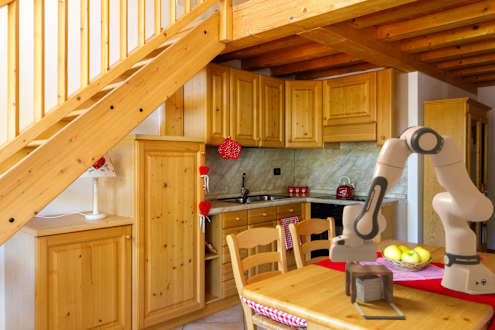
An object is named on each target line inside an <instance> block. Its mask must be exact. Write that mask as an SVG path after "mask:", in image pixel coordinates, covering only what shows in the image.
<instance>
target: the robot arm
mask: <svg viewBox="0 0 495 330" xmlns="http://www.w3.org/2000/svg"><path fill="white" fill-rule="evenodd" d="M413 154H419V155H422V156H423V155H426V156H427V155H429V156H430V159H431V161H432V165H433V168H434V172H435V176H436V179H437V182H438V184H439V185H440V186H442V187H443V188H445V190H446V191H444V192H438V193H437V194H435V195H434V197H433V199H432V204H431V206H432V208H433V210H434V212H435V213H436V214H437V215H438V216H439V218H440V220H441V223H442V226H443V229H444V235H445V251H444V253H443V254H444V256H443V262H444V271H443V276H442V280H441V283H440V284H441V286H443V288H447V289H449V290H452V291H455V292H461V293H465V294H469V295H485V294H495V273H494V272H493V271H492V270H490V269H489V268H488V267H487V266H485V265H484V264H483V263H482V262H486V261H487V257H486V256H484V255H479V254H478V253H477V234H476V233H475V232H474V230H472V229H471V228H470V226H469V224H468V222H473V223H474V222H486V221H488V220H489V219H490V218H491V217H492V215H493V213H494V205H493V202H492V200H491V199H489V198H488V197H487V196H486V195H484V194H483V193H481V191H480V190H479V188H477V187H476V185H475V184H474V183H473V181H472V179H471V178H470V175H469V173H468V170H467V168H466V164H465V161H464V158H463V154H462V151H461V149H460V147H459V144H458V142H457V141H456V139H455V138H454V137H453V136H452V135H449V134H448V135H447V134H444V135H443V134H442V135H440V134H439V133H438V132H437V131H436V130H435V129H433V128H431V127H428V126H427V127H426V126H421V125H417V126H416V125H415V126H409V127H407V128H405V129H404V130H403V131H402V133H400V134H399V136H397V137H391V138H388V139H386V140H385V141H384V144H383V145H382V147H381V149H380V151H379V154H378V157H377V159H376V163H375V167H374V169H373V170H374V171H373V175H372V178H371V179H372V180H371V183H370V186H369V191H368V193H367V196H366V199H365V202H364V204H362V203H359V202H354V203H350V204H346V205H345V206H344V207H343V213H342V226H343V230H342V234H341V235H339V236H335V237H333V238H332V243H331V245H330V248H329V259H330V261H331V262H333V263H335V262H336V263H339V262H340V263H344V262H345V263H346V265H347V264H352V263H354V264H361V263H374V262H375V263H376V262H377V261H378V254H377V249H378V244H377V242H376V241H375V240H374V238H376V237H377V236H379V234H382V233H383V232H384V231H385V230H386V228H387V225H388V221H387V219H386V217H385V216H384V214H382V213H380V212H381V207H382V206H383V202H384V199H385V198H386V196H387V195H388V193H389V192H390V191H391V190H392V189H393V188H394V187H395V186H396V185H397V184H399V182H400V180H401V177H402V176H403V173H404V170H405V166H406V164H407V163H406V162H407V160H408V158H409V157H410V156H411V155H413ZM481 261H482V262H481Z"/></svg>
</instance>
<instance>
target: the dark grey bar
mask: <svg viewBox="0 0 495 330" xmlns="http://www.w3.org/2000/svg"><path fill="white" fill-rule="evenodd" d="M363 318H364V319H365V320H406V317H404V316H400V315H398V316H397V315H365V316H364V317H363Z"/></svg>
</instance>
